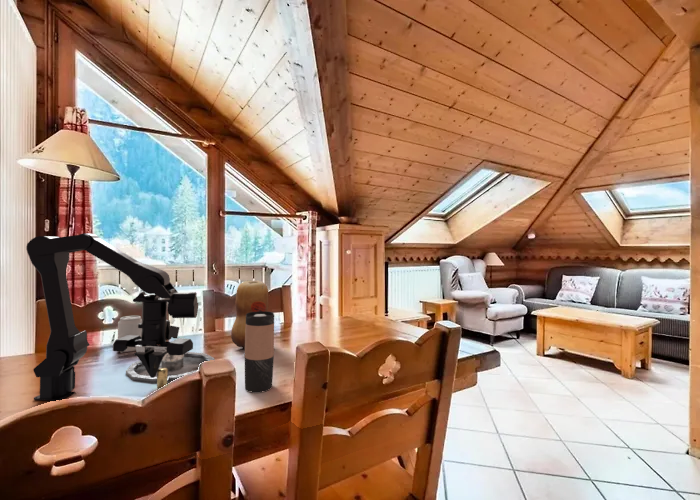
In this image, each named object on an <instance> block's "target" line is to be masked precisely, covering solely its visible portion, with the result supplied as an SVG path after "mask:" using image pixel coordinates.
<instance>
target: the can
mask: <svg viewBox="0 0 700 500" xmlns="http://www.w3.org/2000/svg"><path fill="white" fill-rule="evenodd" d="M140 323H142V315H141V316H140V315H126V316H122V317H120V318H119V321H118V322H117V339H119V338H121V337H124V336H127V335H136V336H140V337H141V331H142V328H138V324H140ZM126 352H136V347H127V349H126V350H125V351H123V352H120V353H121V354H122V353H126Z"/></svg>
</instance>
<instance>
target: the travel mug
mask: <svg viewBox="0 0 700 500" xmlns="http://www.w3.org/2000/svg"><path fill="white" fill-rule="evenodd" d="M274 355H275V313H274V312H272V311H268V310H267V311H257V312H250V313H247V314H246V328H245V348H244V388H245V389H244V390H245V391H246V390H248V391H252V392H260V393H263V392H262V391H265V392H267V391H266V390H268V389H270V388H271V387H273V376H274V375H273V373H274V361H275V359H274ZM271 389H272V388H271ZM271 389H270V390H271ZM248 391H247V392H248ZM268 391H269V390H268ZM252 392H251V393H252Z"/></svg>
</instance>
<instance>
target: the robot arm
mask: <svg viewBox="0 0 700 500" xmlns="http://www.w3.org/2000/svg"><path fill="white" fill-rule="evenodd" d="M25 248H26V254H27V255H28V257H29V261H30V262H31V265H33V267H34V268H35V270H36V271H37V272H38V273H39V274H40V278H41V284H42V290H43V295H44V296H43V297H44V301H45V306H46V311H47V318H48V319H47V320H48V323H49V328H50V333H49V337H48V339H47V342H46V344H45V345H46V351H45V358H44V359H43V360H42V361H41V362H40V363H39V364H38V365H36V366H35V367H34V368H33V369H32V370H33V373H34V376H35V378H39V394H38V395H36V396H34V397H33V400H34V401H45V400H46V402H48V401H47V400H50V401H49V402H55V401H54V400H59V401H61V400H64V399H65V398H67V397H69V396H72V395H74V394H76V393H77V391H73V390H74V389H75V388H76V371H75V366H77V365H78V363H79V362H80V360H81V358H83V357H84V356H85V355H86V353H87V351H88V347H89V346H90V343H89V340H88V332H87V330H83V331H80V330H79V328H77V327H76V324H75V323H76V322H75V319H74V313H73V306H72V303H71V302H72V301H71V295H70V290H69V286H68V285H69V283H68V278H67V267H68V264H69V260H70V254H71V253H76V252H81V251H85V252H87V253H89V254H90V255H92V256H94V257H95V258H97V259H99V260H100V261H102V262H104V263H106V264H108V265H109V266H111V267H113V268H114V269H116V270H118V271H120V272H122V274H124V275H126V276H127V277H128V278H129V279H130V280H131V282H133V284H134V285H135V286H137V287H138V288H139V289H140V290H141V292H139V294H137V296H136V297H134V298H133V299H132V302H133V303H141V319H142V323H140V324H138V328H142V331H141V337H140V336H136V335H127V336H124V337H121V338H119V339H118V338H117V339H115V340H114V342H113V343H112V351H113V352H120V353H121V352H122V353H124V352H123V351H125V350H126V349H127V347H136V350H135V352H134V353H133V355H134V356H135V357H137V358H138V359H139V361H141V362H142V364H143V365H144V367H145V368H146V370H147V372H148V374H149V375H150V377H151V378H154V377H155V376H156V373H157V370H158V368H159V366H160V364H161V361H162V359H163V357H164V356H165V354H167V353H168V354H169V355H183V354H185V353H187V352H191V351H192V350H193V349H194V342H193V340H192V339H191V338H185V337H184V338H183V337H181V338H180V337H179V332H180V326H175V325H171V321H170V320H169V319H168V317H167V315H169V316H170V317H172V319H196V318H197V317H198V311H199V303H198V301H199V300H198V297H197V294H198V293H197V292H196V291H190V292H178V290H177V289H176V288H175V286H174V285H173V284H172V283H171V278H170V275H169V273H167V272H166V271H165V270H163V269H160V268H157V267H155V266H153V265H149V264H146V263H142V262H140V261H138V260H137V259H135V258H133V257H131V256H130V255H128V254H126V252H123V251H122V250H120V249H118V248H117V247H115V246H113V245H111V244H110V243H108V242H107V241H105V240H103V239H102V238H100V237H99V236H98V235H97V234H94V233H80V234H76V235H66V236H49V235H48V236H46V235H43V236H42V235H38V236H35V237H33V238H31V239H30V241H28V242H27V244H26V247H25ZM178 337H179V338H178ZM171 339H173V340H172V341H170V340H171ZM167 340H168V341H167ZM60 399H61V400H60Z"/></svg>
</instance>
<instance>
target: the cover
mask: <svg viewBox="0 0 700 500" xmlns="http://www.w3.org/2000/svg"><path fill="white" fill-rule="evenodd" d="M183 366H184V354H183V355H169V354H168V353H167V354H165V356H164V357H163V359H162V362H161V368H167V369H168V371H170V370H177V369H180V368H182V367H183Z"/></svg>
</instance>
